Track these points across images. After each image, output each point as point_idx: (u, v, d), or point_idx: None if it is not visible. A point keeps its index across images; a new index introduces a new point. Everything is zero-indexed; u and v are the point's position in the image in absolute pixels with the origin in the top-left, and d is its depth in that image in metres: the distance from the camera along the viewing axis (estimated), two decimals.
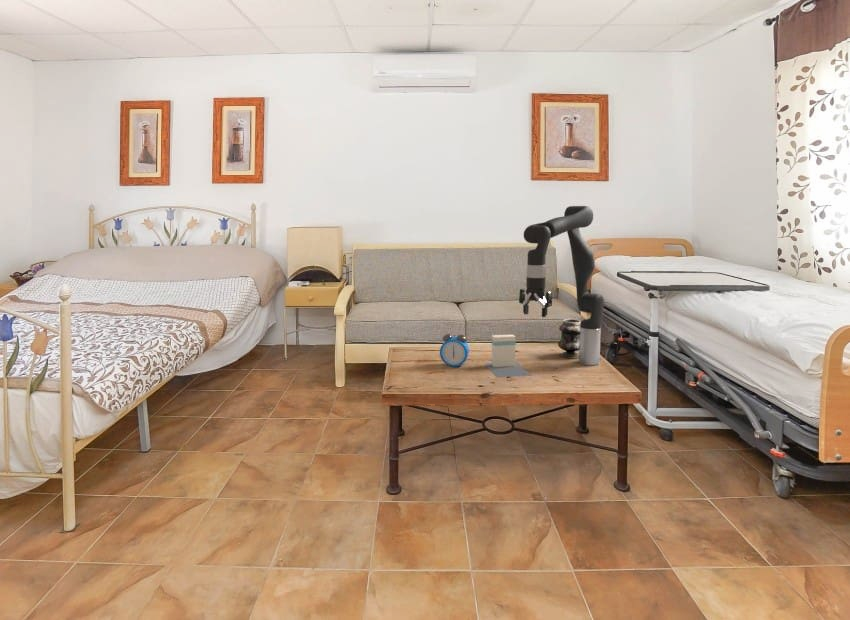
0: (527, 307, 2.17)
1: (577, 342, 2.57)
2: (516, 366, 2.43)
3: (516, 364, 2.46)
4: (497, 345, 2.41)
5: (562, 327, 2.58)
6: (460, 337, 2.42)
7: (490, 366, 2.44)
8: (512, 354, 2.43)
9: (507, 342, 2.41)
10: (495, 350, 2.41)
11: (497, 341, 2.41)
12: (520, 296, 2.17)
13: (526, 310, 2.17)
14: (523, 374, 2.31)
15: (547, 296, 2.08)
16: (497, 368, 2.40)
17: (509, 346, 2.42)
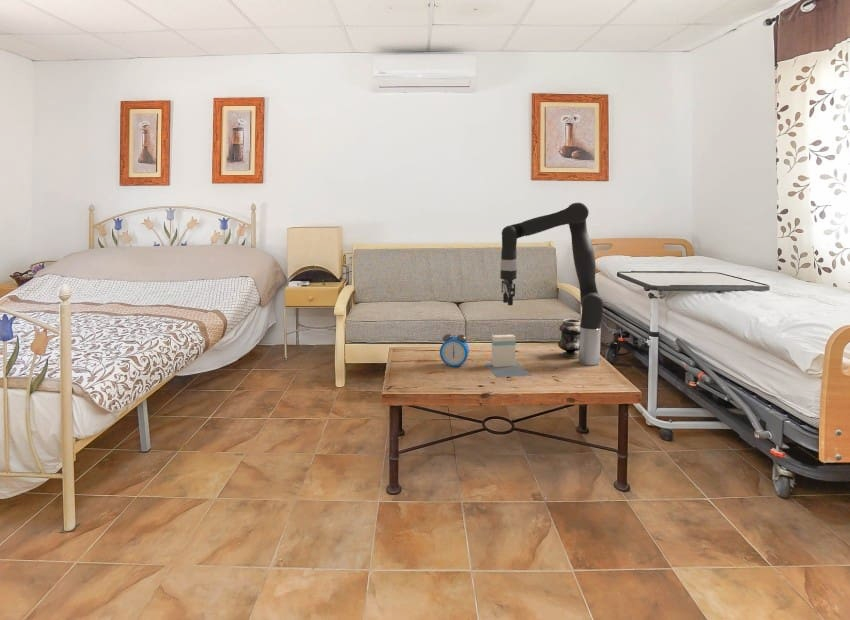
0: None
1: (577, 342, 2.57)
2: (516, 366, 2.43)
3: (516, 364, 2.46)
4: (497, 345, 2.41)
5: (562, 327, 2.58)
6: (460, 337, 2.42)
7: (490, 366, 2.44)
8: (512, 354, 2.43)
9: (507, 342, 2.41)
10: (495, 350, 2.41)
11: (497, 341, 2.41)
12: None
13: None
14: (523, 374, 2.31)
15: None
16: (497, 368, 2.40)
17: (509, 346, 2.42)
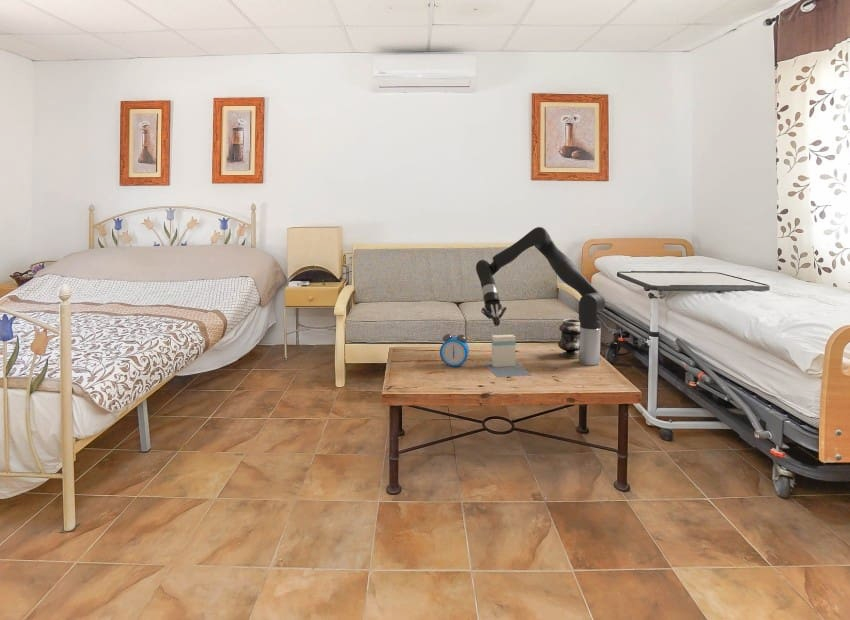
0: None
1: (577, 342, 2.57)
2: (516, 366, 2.43)
3: (516, 364, 2.46)
4: (497, 345, 2.41)
5: (562, 327, 2.58)
6: (460, 337, 2.42)
7: (490, 366, 2.44)
8: (512, 354, 2.43)
9: (507, 342, 2.41)
10: (495, 350, 2.41)
11: (497, 341, 2.41)
12: (487, 312, 2.54)
13: None
14: (523, 374, 2.31)
15: (504, 309, 2.56)
16: (497, 368, 2.40)
17: (509, 346, 2.42)
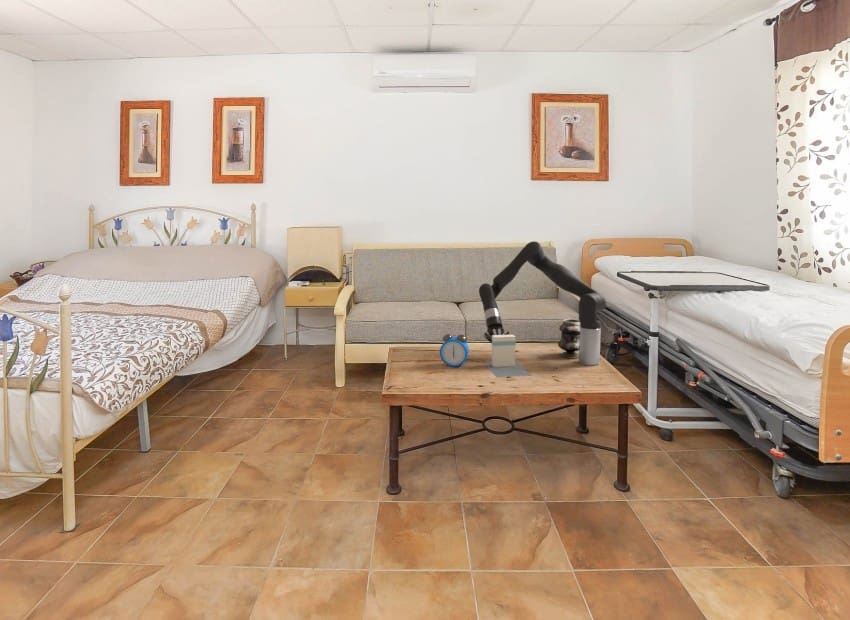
0: None
1: (577, 342, 2.57)
2: (516, 366, 2.43)
3: (516, 364, 2.46)
4: (497, 345, 2.41)
5: (562, 327, 2.58)
6: (460, 337, 2.42)
7: (490, 366, 2.44)
8: (512, 354, 2.43)
9: (507, 342, 2.41)
10: (495, 350, 2.41)
11: (497, 341, 2.41)
12: (489, 336, 2.52)
13: None
14: (523, 374, 2.31)
15: (507, 334, 2.54)
16: (497, 368, 2.40)
17: (509, 346, 2.42)
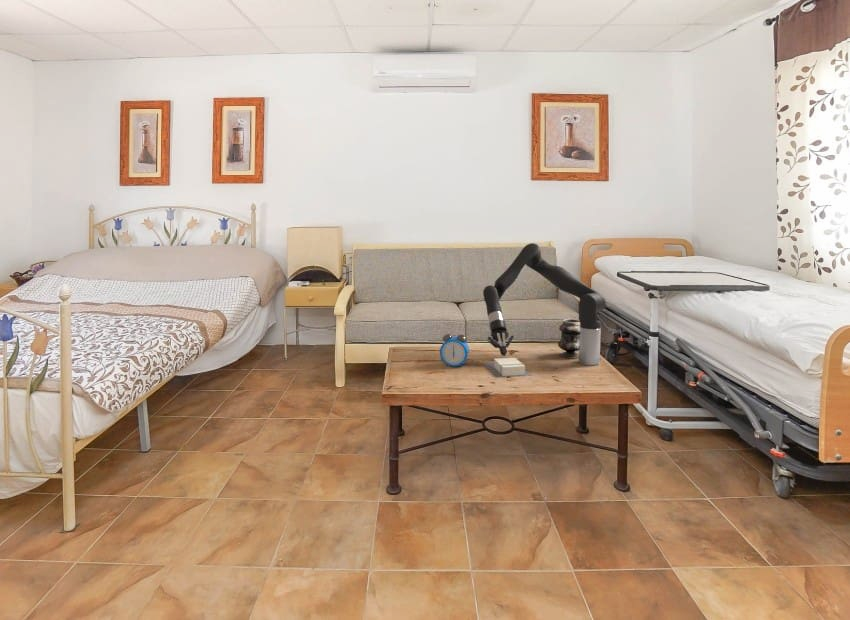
0: None
1: (577, 342, 2.57)
2: None
3: None
4: None
5: (562, 327, 2.58)
6: (460, 337, 2.42)
7: (490, 366, 2.44)
8: None
9: None
10: None
11: None
12: (493, 341, 2.45)
13: None
14: None
15: (511, 338, 2.47)
16: None
17: None
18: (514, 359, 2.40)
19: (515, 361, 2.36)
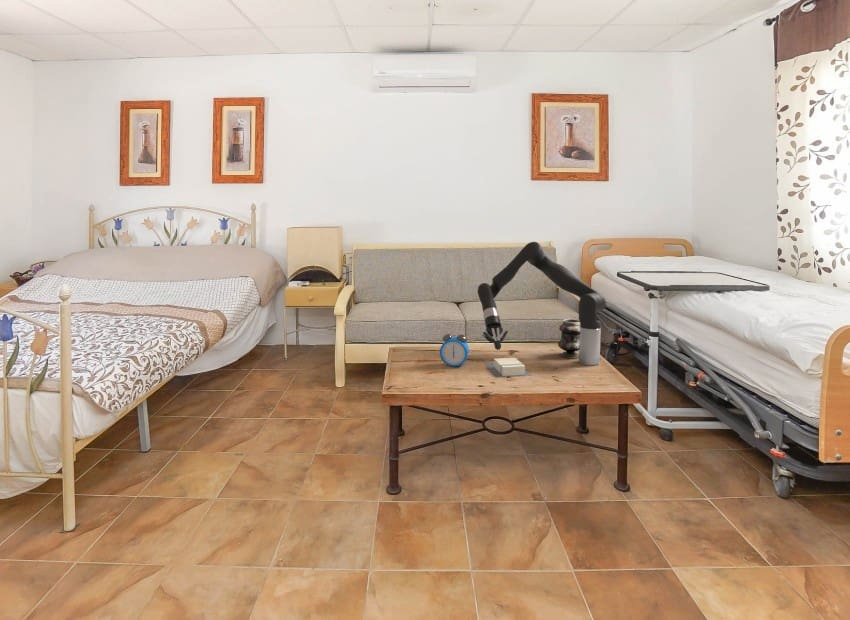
0: None
1: (577, 342, 2.57)
2: None
3: None
4: None
5: (562, 327, 2.58)
6: (460, 337, 2.42)
7: (490, 366, 2.44)
8: None
9: None
10: None
11: None
12: (488, 336, 2.54)
13: None
14: None
15: (505, 333, 2.56)
16: None
17: None
18: (514, 359, 2.40)
19: (515, 361, 2.36)
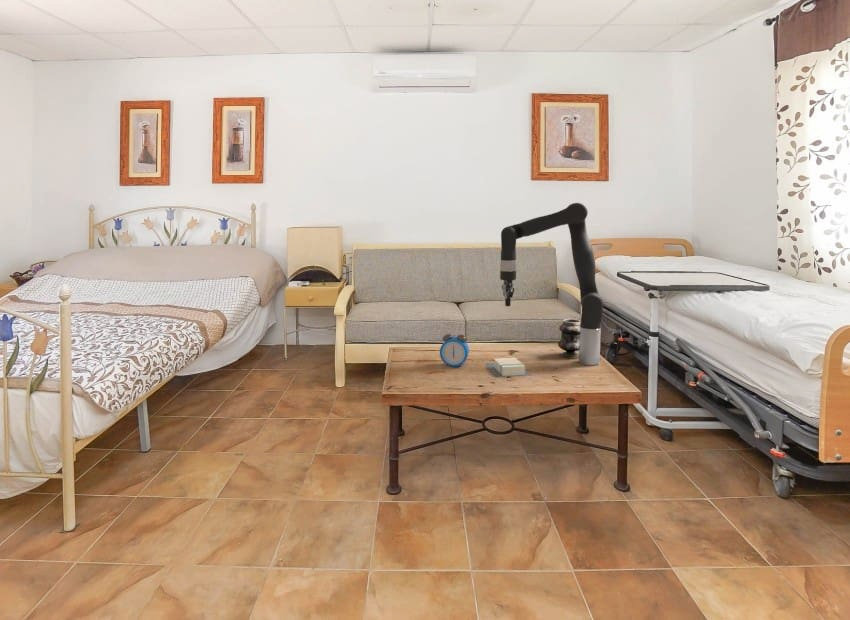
0: None
1: (577, 342, 2.57)
2: None
3: None
4: None
5: (562, 327, 2.58)
6: (460, 337, 2.42)
7: (490, 366, 2.44)
8: None
9: None
10: None
11: None
12: None
13: None
14: None
15: None
16: None
17: None
18: (514, 359, 2.40)
19: (515, 361, 2.36)
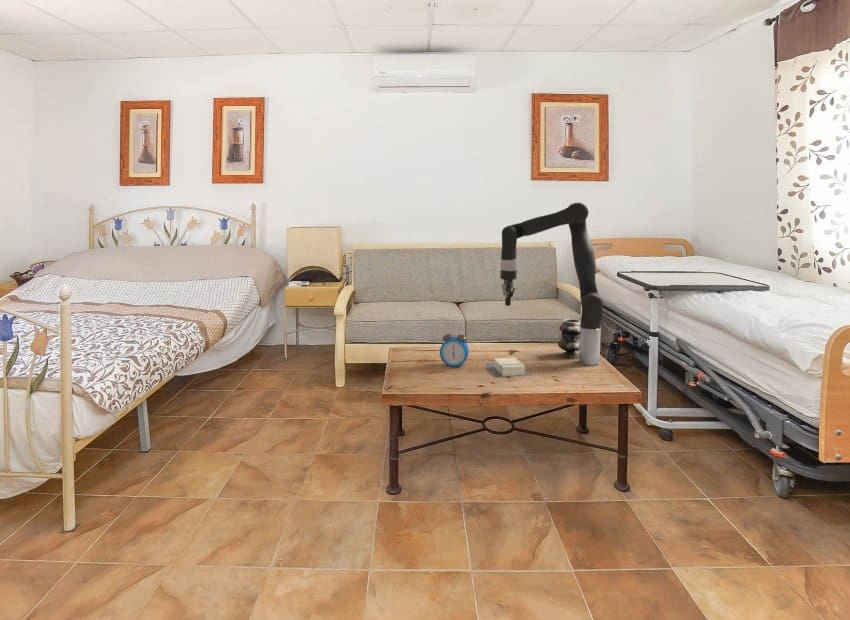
0: None
1: (577, 342, 2.57)
2: None
3: None
4: None
5: (562, 327, 2.58)
6: (460, 337, 2.42)
7: (490, 366, 2.44)
8: None
9: None
10: None
11: None
12: None
13: None
14: None
15: None
16: None
17: None
18: (514, 359, 2.40)
19: (515, 361, 2.36)
